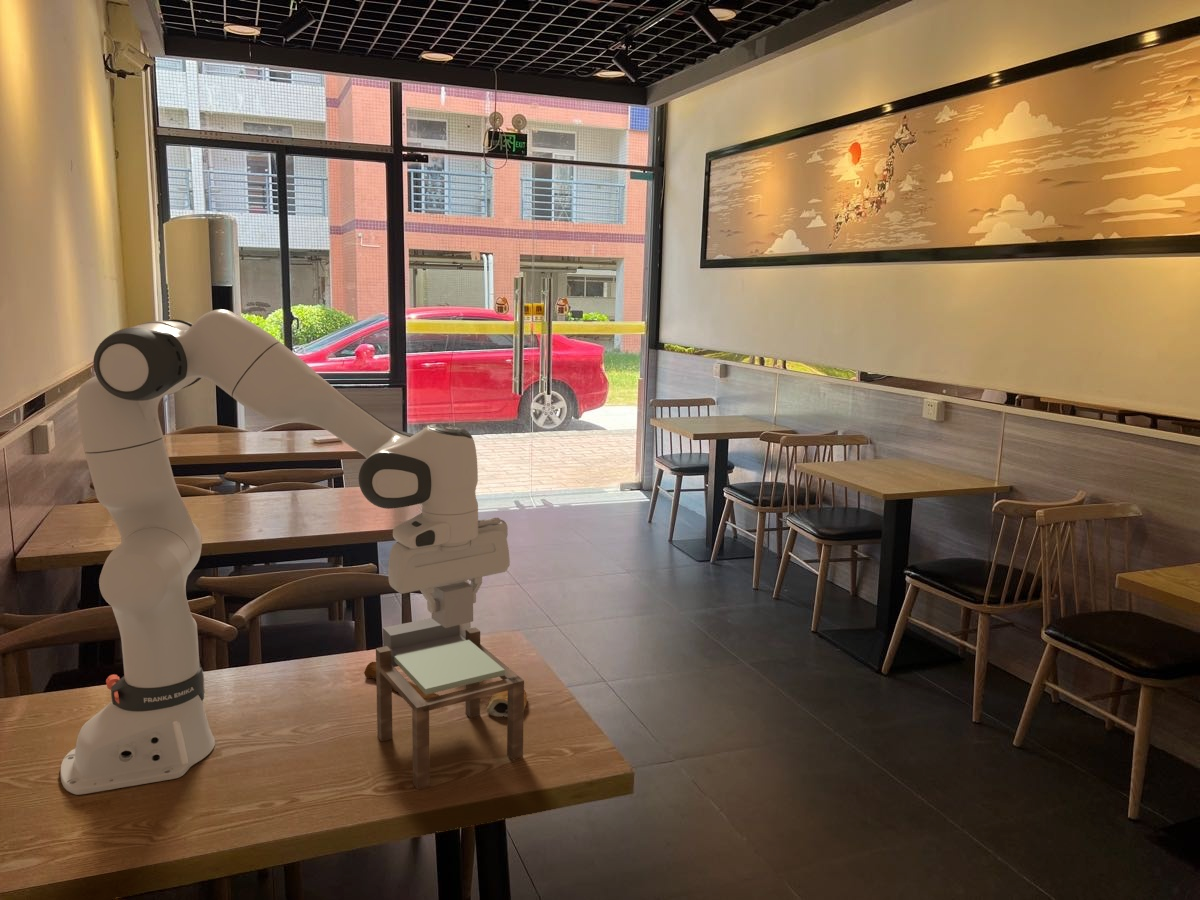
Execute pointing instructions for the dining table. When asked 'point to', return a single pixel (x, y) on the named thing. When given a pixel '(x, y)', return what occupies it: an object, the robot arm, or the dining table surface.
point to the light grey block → (454, 604)
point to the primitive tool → (371, 673)
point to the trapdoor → (437, 656)
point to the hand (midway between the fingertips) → (451, 607)
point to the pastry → (501, 704)
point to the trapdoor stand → (421, 707)
